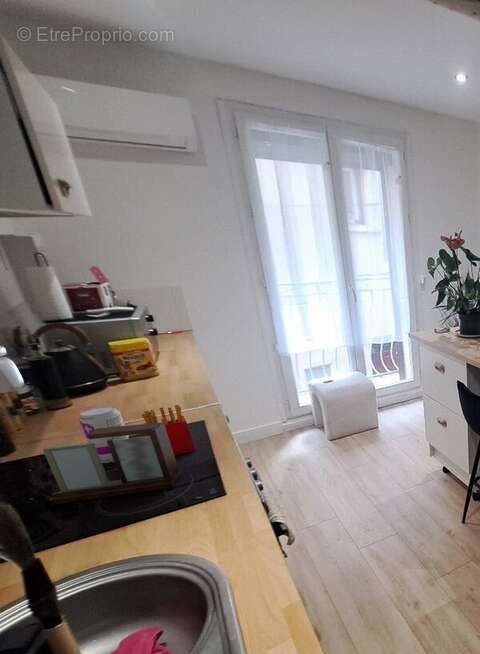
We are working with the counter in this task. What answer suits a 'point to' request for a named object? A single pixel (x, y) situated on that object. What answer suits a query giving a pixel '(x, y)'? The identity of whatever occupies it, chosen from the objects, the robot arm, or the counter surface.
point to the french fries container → (173, 429)
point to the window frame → (132, 463)
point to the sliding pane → (76, 467)
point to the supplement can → (101, 419)
